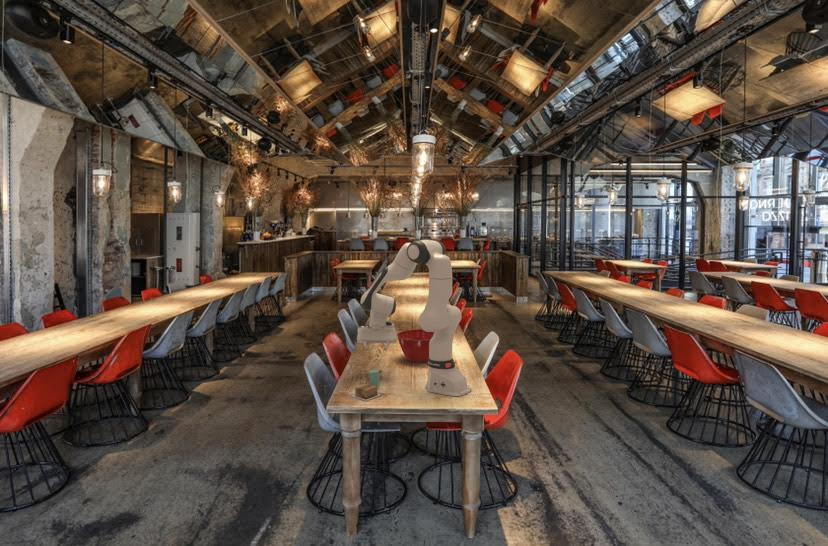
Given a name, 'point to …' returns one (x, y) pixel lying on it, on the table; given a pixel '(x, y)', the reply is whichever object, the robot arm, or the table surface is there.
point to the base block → (366, 391)
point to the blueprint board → (366, 399)
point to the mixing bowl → (415, 344)
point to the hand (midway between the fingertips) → (376, 349)
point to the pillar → (374, 378)
